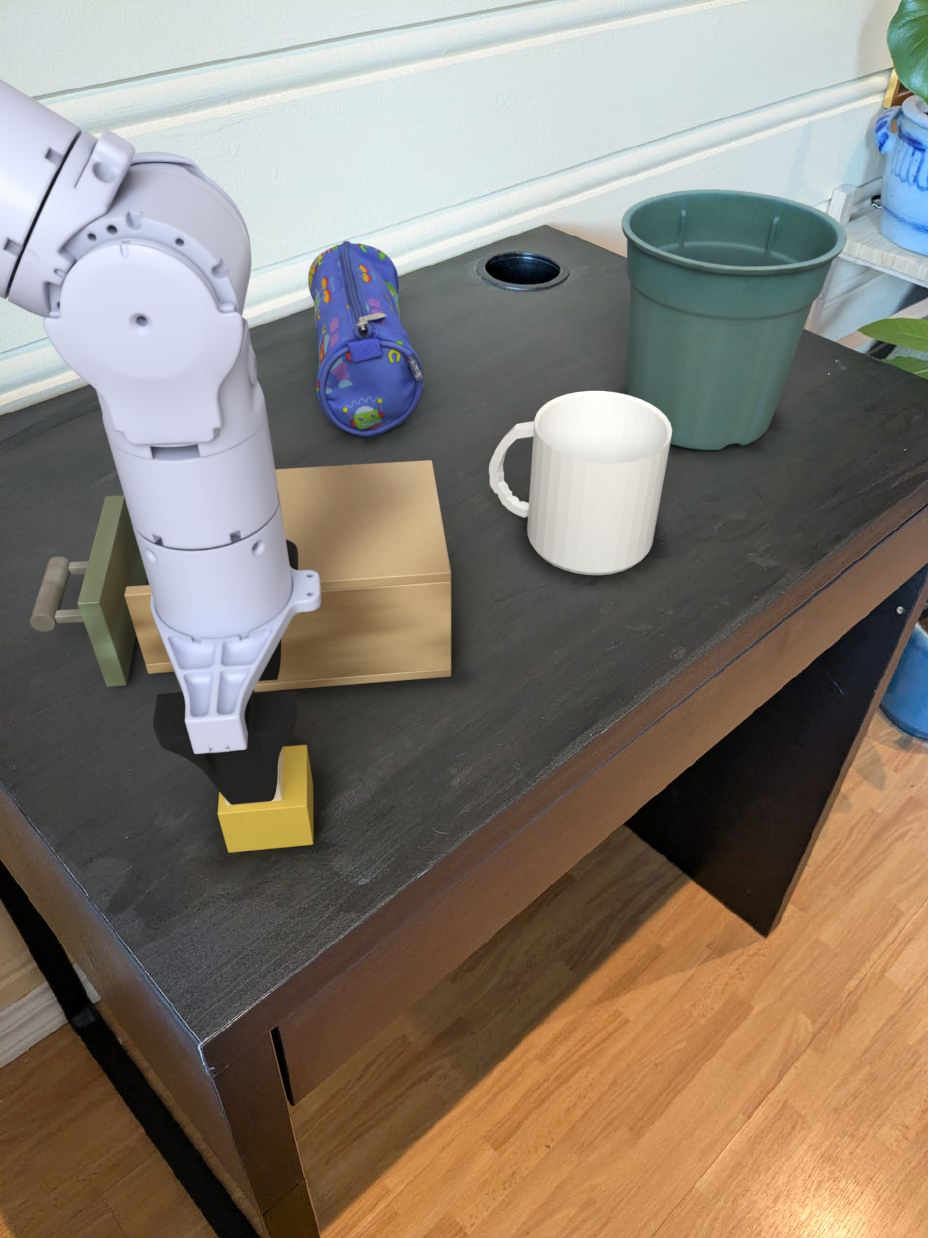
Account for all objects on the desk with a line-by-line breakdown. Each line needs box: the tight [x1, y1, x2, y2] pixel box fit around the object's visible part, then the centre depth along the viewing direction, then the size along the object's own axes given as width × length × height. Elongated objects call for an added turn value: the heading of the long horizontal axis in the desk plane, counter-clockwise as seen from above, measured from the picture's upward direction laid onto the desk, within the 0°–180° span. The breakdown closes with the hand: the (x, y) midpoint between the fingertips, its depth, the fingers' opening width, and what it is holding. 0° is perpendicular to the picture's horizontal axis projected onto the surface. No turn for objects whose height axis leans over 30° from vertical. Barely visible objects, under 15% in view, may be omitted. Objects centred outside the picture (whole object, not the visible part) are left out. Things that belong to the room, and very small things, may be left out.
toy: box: [217, 744, 314, 854], centre depth 50 cm, size 4×4×5 cm
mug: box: [488, 390, 672, 576], centre depth 67 cm, size 12×9×9 cm
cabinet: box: [254, 459, 452, 693], centre depth 60 cm, size 13×11×8 cm
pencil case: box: [307, 240, 425, 438], centre depth 83 cm, size 22×9×10 cm, turn 9°
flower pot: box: [621, 188, 848, 451], centre depth 77 cm, size 16×16×16 cm
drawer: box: [29, 494, 175, 688], centre depth 59 cm, size 16×10×7 cm, turn 97°
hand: (255, 733), depth 47 cm, fingers open, 7 cm apart
